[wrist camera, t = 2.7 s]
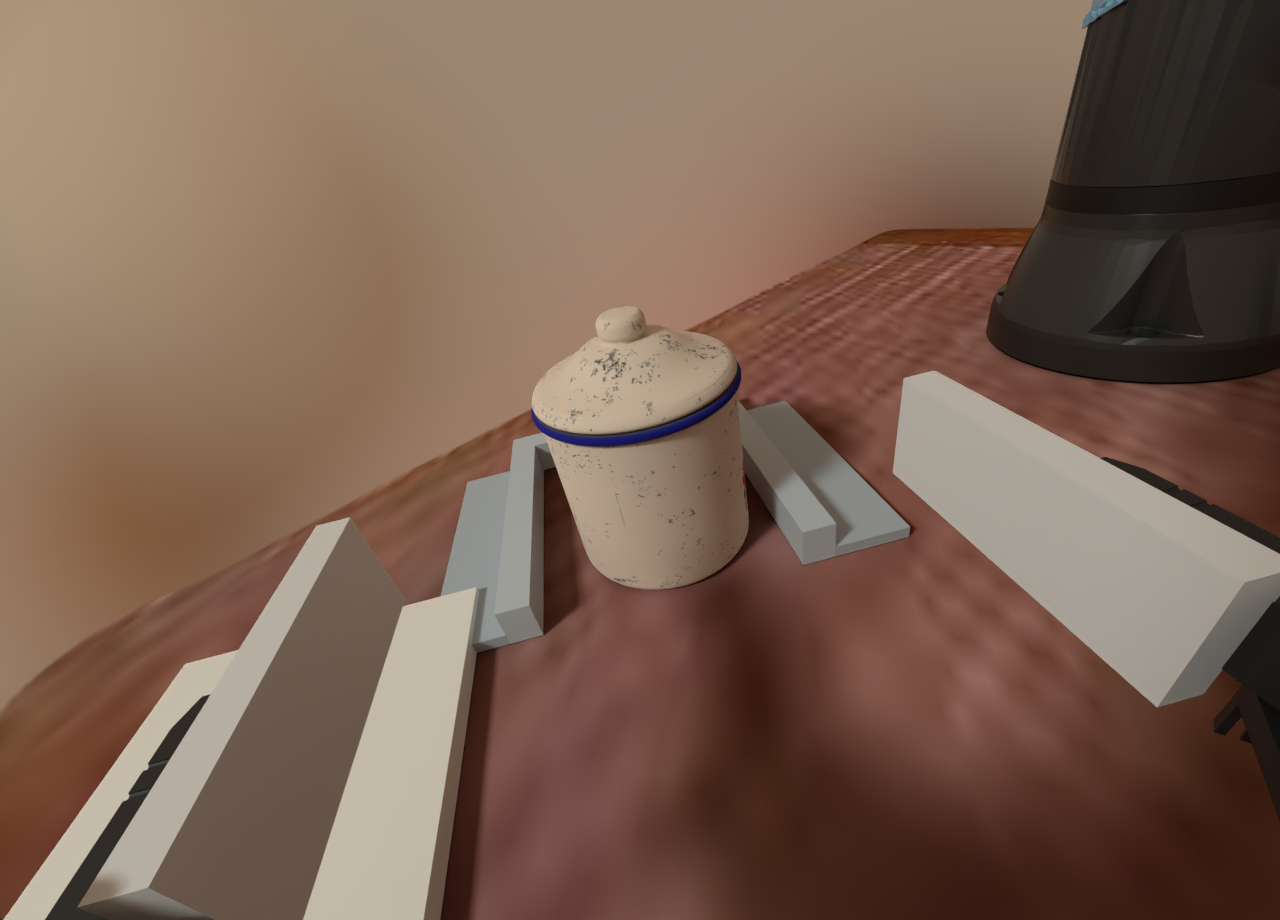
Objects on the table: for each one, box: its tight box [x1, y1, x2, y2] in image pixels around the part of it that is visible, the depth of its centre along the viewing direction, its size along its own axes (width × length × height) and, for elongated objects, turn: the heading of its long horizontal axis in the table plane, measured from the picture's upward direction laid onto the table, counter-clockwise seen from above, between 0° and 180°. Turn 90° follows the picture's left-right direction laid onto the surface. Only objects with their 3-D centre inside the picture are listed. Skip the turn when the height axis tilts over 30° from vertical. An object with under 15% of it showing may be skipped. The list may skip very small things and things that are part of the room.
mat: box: [4, 587, 479, 920], centre depth 18 cm, size 14×14×1 cm
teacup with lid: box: [531, 306, 749, 590], centre depth 24 cm, size 12×9×12 cm
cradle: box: [441, 400, 910, 653], centre depth 27 cm, size 22×15×2 cm
